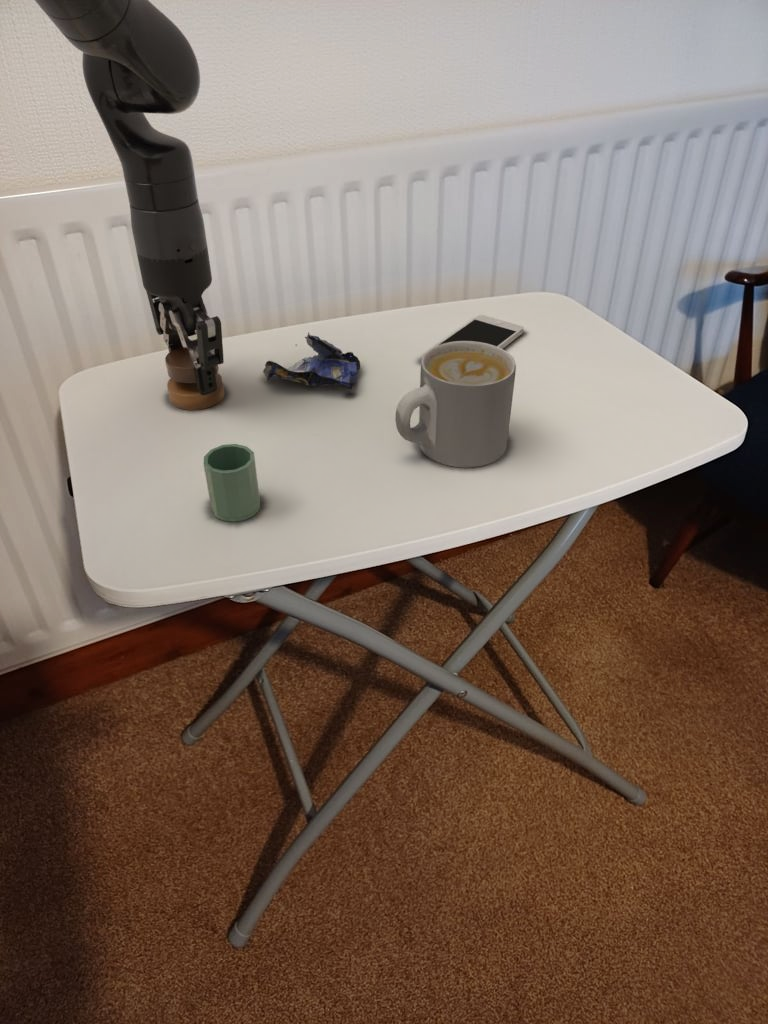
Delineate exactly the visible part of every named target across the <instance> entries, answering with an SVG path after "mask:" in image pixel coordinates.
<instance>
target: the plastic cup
mask: <svg viewBox="0 0 768 1024" xmlns="http://www.w3.org/2000/svg"><path fill="white" fill-rule="evenodd" d="M203 470H204V474H205V480H206V485H207V491H208V497H209V503H210V509H211V510H212V511H211V512H212V513H213V515H214V516H215V517H216V518H217V519H219V520H221V521H223V522H229V523H230V522H231V523H235V522H243V521H246V520H249V519H251V518H252V517H254V516H255V515H256V514H257V513H258V512H259V511H260V508H261V497H260V496H261V495H260V489H259V482H258V471H257V466H256V457H255V452H254V451H253V450H252V449H251V448H249V447H248V446H246V445H243V444H238V443H230V444H221V445H218V446H217V447H216V446H215V447H214V448H211V449H210V450H208V452H207V453H206V454H205V455H203Z"/></svg>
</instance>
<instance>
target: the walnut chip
mask: <svg viewBox="0 0 768 1024" xmlns="http://www.w3.org/2000/svg"><path fill="white" fill-rule="evenodd" d="M196 350H197V353H198V355H199V352H198V346H197V347H196ZM164 361H165V366H166V372H167V376H168V377H169V379H170V378H171V379H172V380H174V381H177V382H181V383H196V377H195V371H194V364H193V361H192V358H191V355H190V353H189V350H188V349H185V348H184V347H179V348H177V349H174V350H172V351H171V352H169V351H168V353H167V354H166V356H165V358H164ZM219 367H220V366H219V364H218V365H215V366H214V370H215V375H216V374H217V373H218V372H219Z"/></svg>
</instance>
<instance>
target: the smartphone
mask: <svg viewBox="0 0 768 1024" xmlns="http://www.w3.org/2000/svg"><path fill="white" fill-rule="evenodd" d="M524 327H525V326H523V325H520V324H516V323H512V322H509V321H507V320H506V321H505V320H502V319H499V318H495V317H492V316H488V315H485V314H479V315H477V316H476V317H474V318H473V319H471V320H470V321H468V322H467V323H466V324H464V325H463V326H461V327H460V328H459V329H457V330H455V331H454V332H453V333H451V334H450V335H448V336H446V337H445V338H444V339H443V340H441V341H440V342H438V343H437V344H436V345H434V346H433V347H435V346H437V345H440V344H444V343H448V342H455V341H475V342H482V343H487V344H490V345H494V346H496V347H499V348H501V349H503V350H504V349H505V348H506V347H507V346H508V345H510V344H511V343H512V342H514V341H515V339H517V338H518V337H520V336H521V335H522V334H523V333H524ZM425 353H426V352H424V353H423V354H422V356H423V355H424V354H425Z"/></svg>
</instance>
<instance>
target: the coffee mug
mask: <svg viewBox="0 0 768 1024" xmlns="http://www.w3.org/2000/svg"><path fill="white" fill-rule="evenodd" d="M436 345H437V344H436ZM436 345H434V346H435V347H434V346H433V347H431V348H430V349H428V350H426V352H424V353H425V354H424V353H423V354H424V355H423V354H422V357H421V360H420V373H419V374H420V375H419V387H418V388H416V389H413V390H410V391H408V392H407V393H405V394H404V395H403V396H402V397H401V399H400V400H399V401H398V404H397V406H396V410H395V425H396V430H397V432H398V433H399V436H401V437H402V438H403V440H405V441H407V442H411V443H418V446H419V448H420V450H421V452H422V453H423V454H424V455H426V457H428V458H429V459H431V460H433V461H434V462H436V463H439V464H441V465H444V466H448V467H452V468H453V467H454V468H479V467H483V466H487V465H490V464H492V463H495V462H496V461H497V460H499V459H501V458H502V456H503V455H505V453H506V451H507V447H508V441H509V431H510V424H511V414H512V406H513V398H514V390H515V389H514V388H515V382H516V381H515V380H516V371H517V364H516V361H515V358H514V357H513V355H511V354H510V353H509V352H508V351H506V350H504V348H503V349H501V348H499V347H496V346H494V345H490V344H487V343H482V342H475V341H455V342H448V343H444V344H440V345H437V346H436ZM417 408H418V409H419V411H418V423H417V424H416V425H415V426H413V427H411V418H412V416H413V413H414V412H415V410H416V409H417Z"/></svg>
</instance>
